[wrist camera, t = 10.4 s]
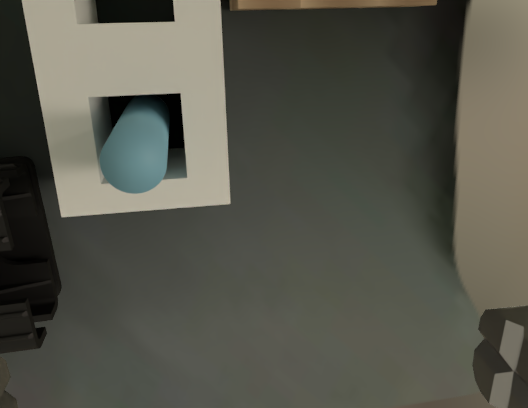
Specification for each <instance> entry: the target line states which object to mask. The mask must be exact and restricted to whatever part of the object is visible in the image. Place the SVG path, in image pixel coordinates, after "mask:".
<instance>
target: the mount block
mask: <svg viewBox="0 0 528 408" xmlns="http://www.w3.org/2000/svg"><path fill="white" fill-rule="evenodd" d="M229 3H230V11H233V10H283V9H333V8H383V7H413V6H430V5H437V0H229Z"/></svg>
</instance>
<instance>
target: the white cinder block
mask: <svg viewBox="0 0 528 408" xmlns="http://www.w3.org/2000/svg"><path fill="white" fill-rule="evenodd" d="M22 5H23V10H24V16H25V21H26V27H27V32H28V38H29V43H30V48H31V54H32V59H33V65H34V70H35V76H36V81H37V87H38V92H39V98H40V103H41V109H42V114H43V119H44V125H45V130H46V136H47V141H48V147H49V152H50V158H51V163H52V169H53V174H54V179H55V185H56V190H57V196H58V201H59V207H60V212H61V217H72V216H84V215H97V214H110V213H122V212H135V211H148V210H160V209H173V208H185V207H198V206H211V205H223V204H230V185H229V164H228V144H227V123H226V103H225V83H224V62H223V42H222V21H221V1H220V0H173V6H174V19H175V22H136V23H98V16H97V9H96V1H95V0H22ZM172 93H181V105H182V117H183V130H184V142H185V148H173V149H168V157H167V169H166V173H165V175H164V177H163V179H162V181H161V182H160V183H159V184H158V185H157V186H156V187H154V188H153V189H151V190H149V191H147V192H144V193H138V194H132V193H126V192H123V191H120V190H118V189H116V188H115V187H113V186H112V185H111V184H110V183H109V182H108V181H107V180H106V179H105V177H104V175H103V174H102V171H101V168H100V154H101V150H102V148H103V146H104V144H105V143H106V141H107V139H108V137H109V136H110V134H111V132H112V130H113V129H112V121H111V114H110V106H109V99H108V96H128V95H150V94H172Z"/></svg>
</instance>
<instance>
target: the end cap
mask: <svg viewBox="0 0 528 408" xmlns="http://www.w3.org/2000/svg"><path fill="white" fill-rule="evenodd" d="M60 291H61V281H60V277H59V273H58V268H57V264H56V259H55V255H54V250H53V246H52V241H51V237H50V233H49V228H48V224H47V219H46V215H45V210H44V206H43V202H42V197H41V193H40V188H39V184H38V179H37V175H36V170H35V166H34V164H33V162H32V160H31V159H29V158H28V157H23V156H18V157H6V158H0V354H1V353H8V352H15V351H23V350H30V349H37V348H40V347H41V346H42V343H43V341H44V339H45V336H46V334H47V332H46V328H45V327H41V328H35V324H34V322H39V321H47V320H52V319H53V317H54V314H55V312H56V310H57V306H58V297H57V296H58V295H59V293H60Z"/></svg>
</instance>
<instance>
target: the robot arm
mask: <svg viewBox="0 0 528 408" xmlns="http://www.w3.org/2000/svg"><path fill="white" fill-rule="evenodd" d="M478 330H479V331H480V333H481V334H482V336H483V337H484V340H483V341H482V342H481V343H480V344H479V345H478V347H477V348H476V349H475V351H474V358H473V371H474V376H475V381H476V383H477V385H478V387H479V390H480V392H481V393H482V394H483V396H484V397H485V399H486V400H487V401H488V403H489V404H491V405H493V406H495V407H497V408H528V305H526V306H517V307H507V308H497V309H488V310H485V311H484V313H483V315H482V316H481V318H480V323H479V328H478ZM10 378H11V376H10V372H9V369H8V366H7V362H6V360H5V359H3V358H2V357H0V408H18V404H17V400H16V399H15V398H14V397H13V396H11V395H10V394H9V393H8V392H6V391H5V388H6V386H7V384H8V382H9V380H10Z"/></svg>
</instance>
